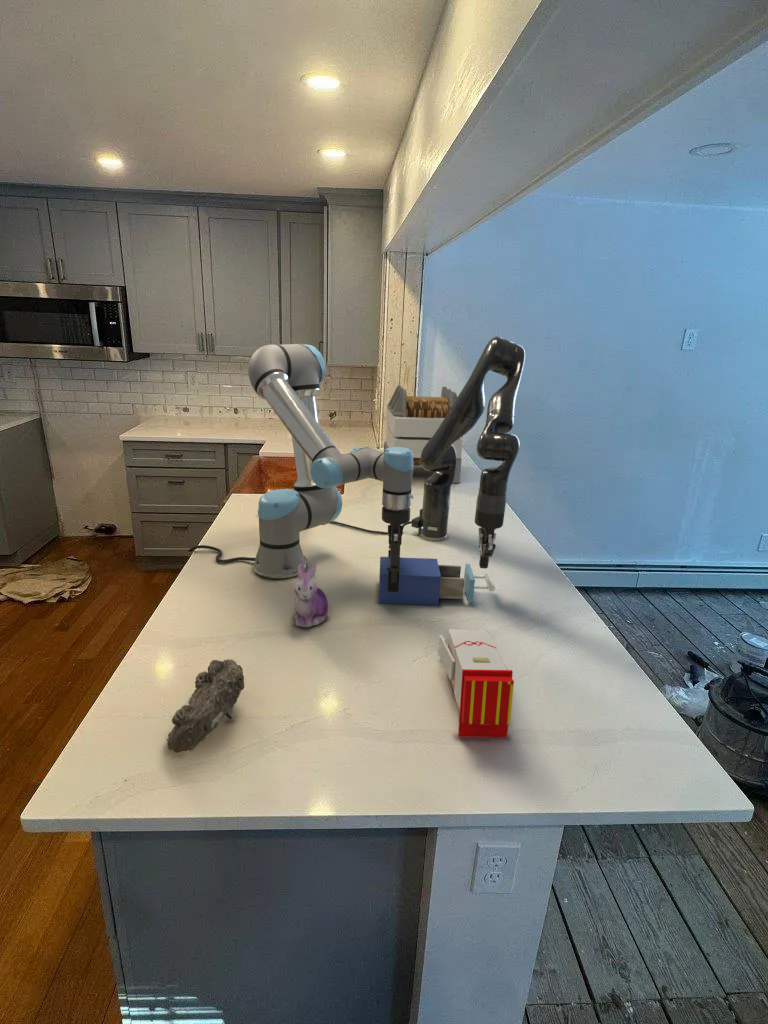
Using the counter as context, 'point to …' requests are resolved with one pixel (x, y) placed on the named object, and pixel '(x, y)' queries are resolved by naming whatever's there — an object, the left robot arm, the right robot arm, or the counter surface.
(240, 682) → the fossil
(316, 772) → the counter surface
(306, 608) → the figurine
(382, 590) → the cabinet
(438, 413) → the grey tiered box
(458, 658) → the toy
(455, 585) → the drawer
